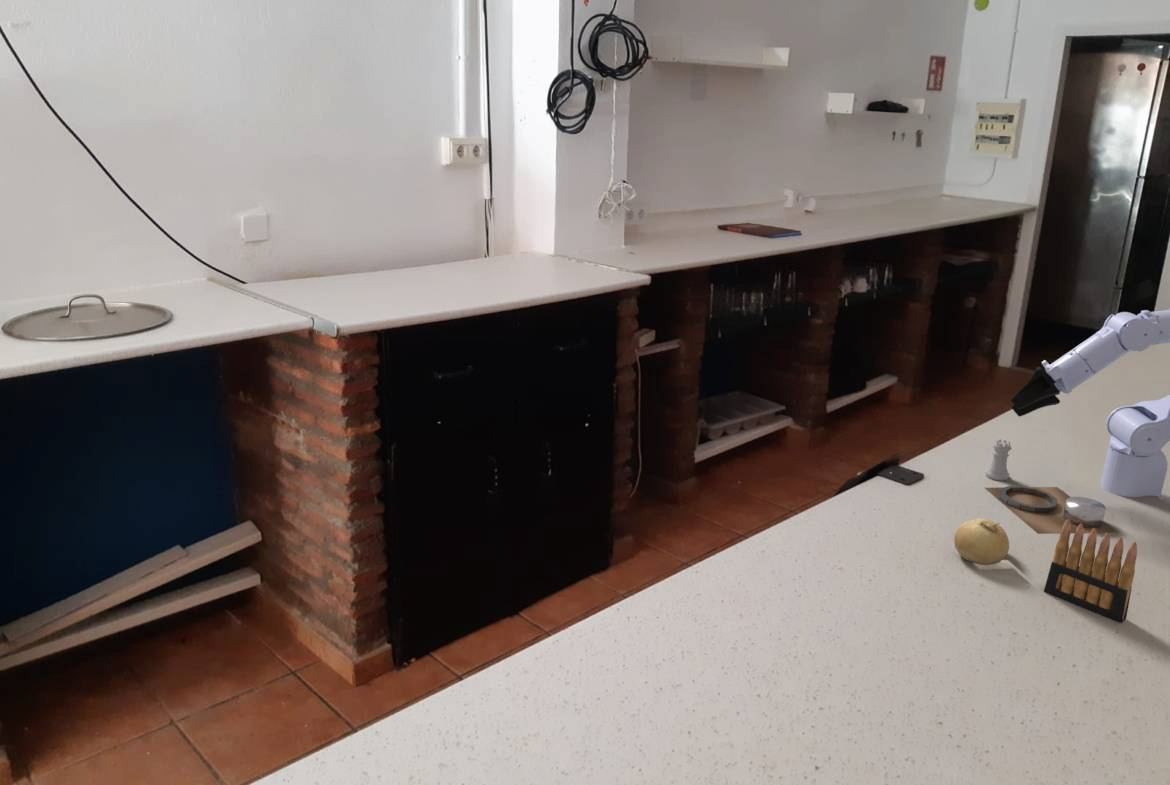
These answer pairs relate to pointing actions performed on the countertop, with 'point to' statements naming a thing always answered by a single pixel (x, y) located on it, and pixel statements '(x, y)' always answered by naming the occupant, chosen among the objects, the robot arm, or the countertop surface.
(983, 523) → the onion
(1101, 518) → the silver metal dome
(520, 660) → the countertop surface
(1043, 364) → the robot arm
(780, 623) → the countertop surface
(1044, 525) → the carrier board
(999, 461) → the rook chess piece
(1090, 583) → the ammunition clip
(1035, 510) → the socket ring
